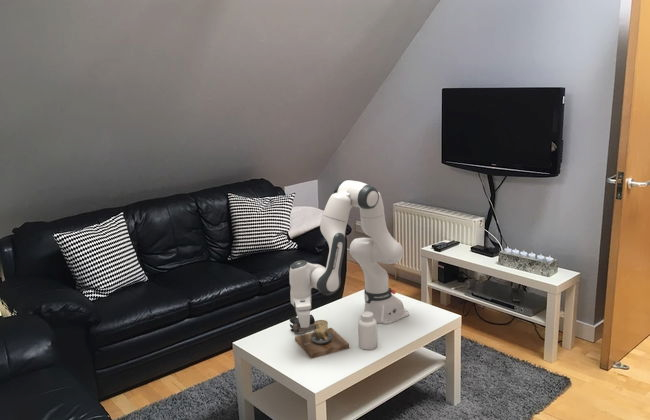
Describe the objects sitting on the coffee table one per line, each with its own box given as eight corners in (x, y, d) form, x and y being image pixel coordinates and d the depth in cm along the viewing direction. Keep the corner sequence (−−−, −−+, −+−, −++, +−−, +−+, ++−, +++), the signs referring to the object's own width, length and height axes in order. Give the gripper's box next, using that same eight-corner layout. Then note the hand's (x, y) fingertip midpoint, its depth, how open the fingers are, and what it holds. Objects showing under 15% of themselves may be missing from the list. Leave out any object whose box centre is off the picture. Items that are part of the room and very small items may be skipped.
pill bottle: (358, 350, 241) (357, 317, 237) (359, 341, 248) (358, 309, 245) (376, 350, 240) (375, 318, 236) (377, 341, 247) (376, 310, 244)
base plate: (331, 331, 259) (331, 327, 258) (349, 348, 243) (349, 343, 242) (295, 340, 251) (294, 336, 251) (311, 358, 235) (310, 353, 235)
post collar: (326, 333, 252) (326, 329, 252) (335, 342, 244) (335, 337, 244) (308, 338, 249) (307, 334, 248) (316, 347, 241) (316, 342, 240)
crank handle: (322, 329, 251) (322, 313, 249) (332, 338, 243) (331, 321, 241) (290, 337, 245) (289, 320, 243) (298, 347, 237) (297, 329, 235)
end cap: (297, 336, 256) (296, 322, 254) (289, 330, 262) (288, 317, 260) (315, 330, 261) (315, 316, 259) (307, 324, 267) (307, 311, 265)
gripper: (290, 290, 250) (292, 318, 253) (296, 308, 230) (298, 339, 234) (305, 288, 251) (306, 317, 254) (311, 307, 231) (313, 337, 235)
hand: (302, 328), depth 244 cm, fingers closed
